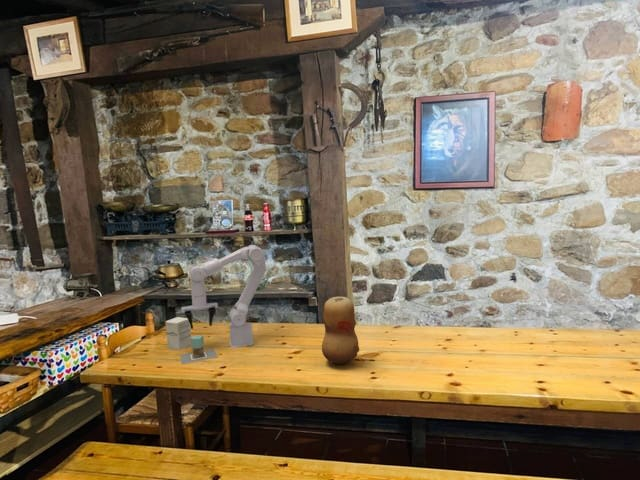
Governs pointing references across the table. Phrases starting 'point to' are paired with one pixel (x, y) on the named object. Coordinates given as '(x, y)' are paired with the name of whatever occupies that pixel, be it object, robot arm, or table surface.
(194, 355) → the walnut block
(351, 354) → the butternut squash
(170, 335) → the supplement box
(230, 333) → the robot arm
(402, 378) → the table surface
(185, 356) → the slate board
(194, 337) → the teal block
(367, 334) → the table surface
